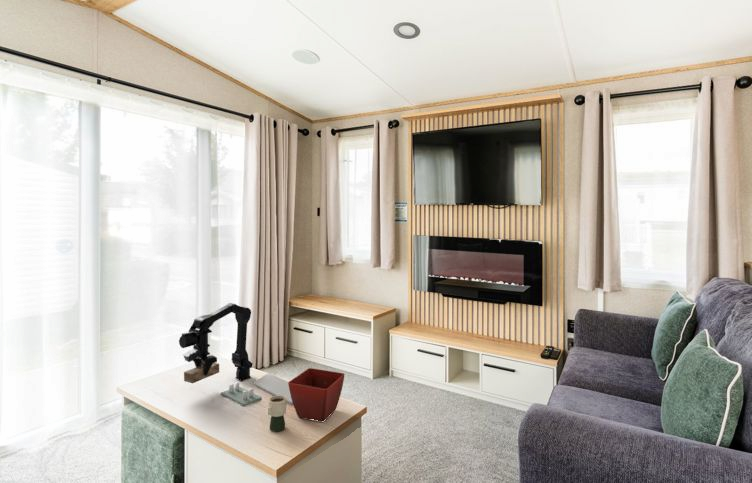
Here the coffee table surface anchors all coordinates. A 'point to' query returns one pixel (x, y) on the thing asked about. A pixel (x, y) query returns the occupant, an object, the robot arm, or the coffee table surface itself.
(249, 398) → the peg base
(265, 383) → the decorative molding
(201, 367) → the walnut shelf board
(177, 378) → the coffee table surface
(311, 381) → the plant pot
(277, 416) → the character mug
